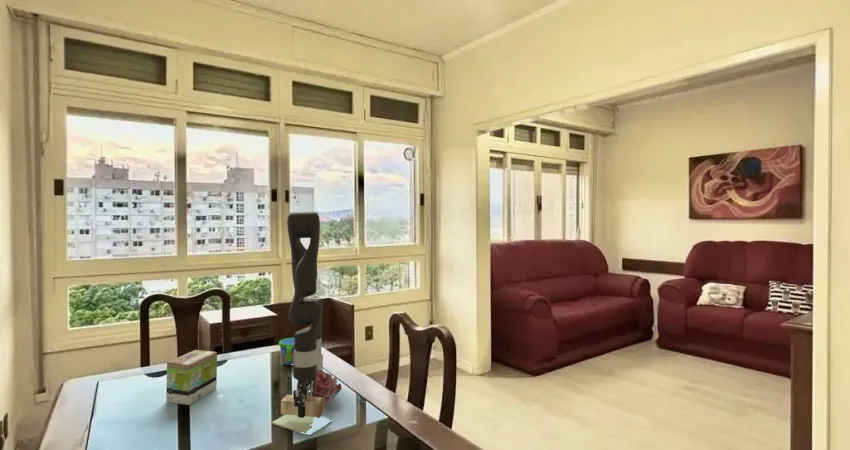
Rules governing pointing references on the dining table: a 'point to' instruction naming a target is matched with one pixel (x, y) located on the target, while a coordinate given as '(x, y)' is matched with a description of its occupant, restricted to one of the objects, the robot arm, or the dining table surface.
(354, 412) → the dining table surface
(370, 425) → the dining table surface
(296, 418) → the felt mat
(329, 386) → the flower
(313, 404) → the beech block
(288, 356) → the snack cup
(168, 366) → the tea box
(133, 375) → the dining table surface
